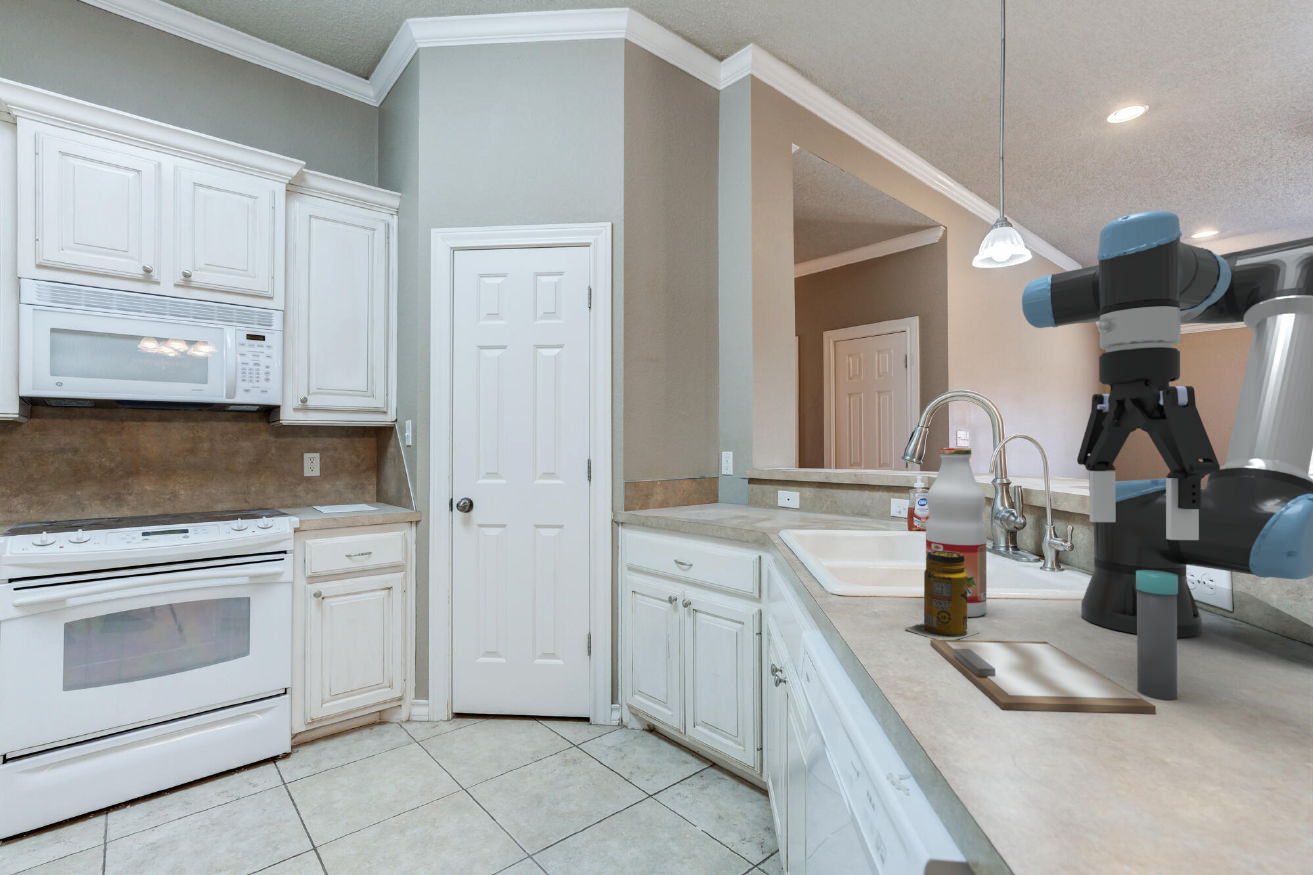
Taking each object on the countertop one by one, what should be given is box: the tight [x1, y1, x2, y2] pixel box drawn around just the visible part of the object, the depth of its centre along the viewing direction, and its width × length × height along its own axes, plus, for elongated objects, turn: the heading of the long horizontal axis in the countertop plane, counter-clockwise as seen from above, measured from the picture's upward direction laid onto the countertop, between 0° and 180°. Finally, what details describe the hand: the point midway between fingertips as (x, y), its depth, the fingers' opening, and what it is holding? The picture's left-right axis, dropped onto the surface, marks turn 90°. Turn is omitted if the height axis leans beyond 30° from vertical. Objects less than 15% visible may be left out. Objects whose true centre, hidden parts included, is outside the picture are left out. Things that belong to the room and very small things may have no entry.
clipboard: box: [930, 639, 1157, 715], centre depth 78 cm, size 16×21×2 cm
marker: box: [1136, 570, 1178, 701], centre depth 72 cm, size 4×4×14 cm
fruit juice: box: [925, 447, 987, 618], centre depth 106 cm, size 9×9×28 cm
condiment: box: [903, 551, 980, 640], centre depth 95 cm, size 7×8×12 cm
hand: (1138, 530), depth 73 cm, fingers open, 13 cm apart
